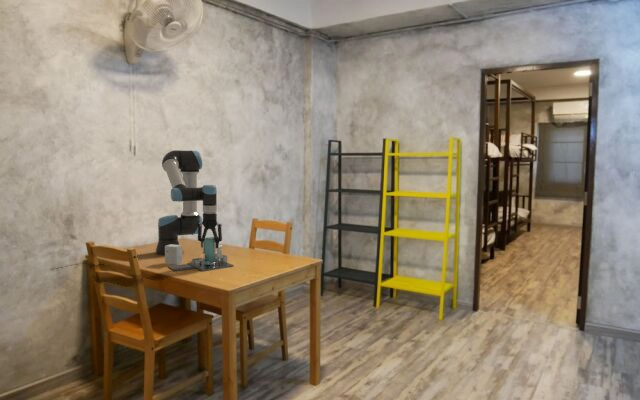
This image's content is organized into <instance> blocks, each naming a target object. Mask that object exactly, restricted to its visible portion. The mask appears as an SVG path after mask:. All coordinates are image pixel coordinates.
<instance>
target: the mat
mask: <svg viewBox="0 0 640 400" xmlns="http://www.w3.org/2000/svg"><path fill="white" fill-rule="evenodd" d="M167 268H168V269H170V270H172V271H174V272H176V273H177V272H183V271H188V270H189V271H190V270H197V269H196V268H195V267H193V266H191V265H189V264H187V263H181V264H178V265H170V266H169V265H168V267H167Z"/></svg>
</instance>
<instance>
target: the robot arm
mask: <svg viewBox="0 0 640 400" xmlns="http://www.w3.org/2000/svg"><path fill="white" fill-rule="evenodd" d="M161 161H162V162H161V167H162V169H163V171H164V172H166V174H167V177H168V180H169V183H170V186H171V189H170V199H171V201H172V202H178V203H181V202H182V212H181V213H180V216H179V217H178V214H171V215H165V216H161V217H159V218H158V223H157V227H158V229H157V230H158V241H157V243H156V244H157V245H156V248H155V254H156V255H162V256H165V246H166V245H170V244H173V245H180V242H179V236H188V235H189V236H191V235H192V236H193V235H197V241H199V242H200V248H202V254H204V255H205V252H204V239H205V238H207V237H206V236H207V234H208V230H211V232H212V235H213V237H214V238H215V243H214V254H217V248H219V245H220V242H222V240H223V232H222V226H223V224H222V223H219V222H217V221H218V220H217V217H218V215H217V211H218V210H217V194H218V193H217V192H218V191H217V186H216V185H215V184H204V185H202V186H201V187H198V184H197V183H198V181H197V180H198V178H197V177H198V174H199V173H200V170H202V168H203V157H202V155H201V153H200V152H199V151H198V150H170V151H169V152H168V153H166V154H165V155H164V156H163V158H162V160H161ZM200 201H201V202H202V216H200V213H199V212H198V207H197V206H198V202H200ZM216 227H217V229H216ZM203 228H204V229H203ZM202 230H203V232H202Z"/></svg>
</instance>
